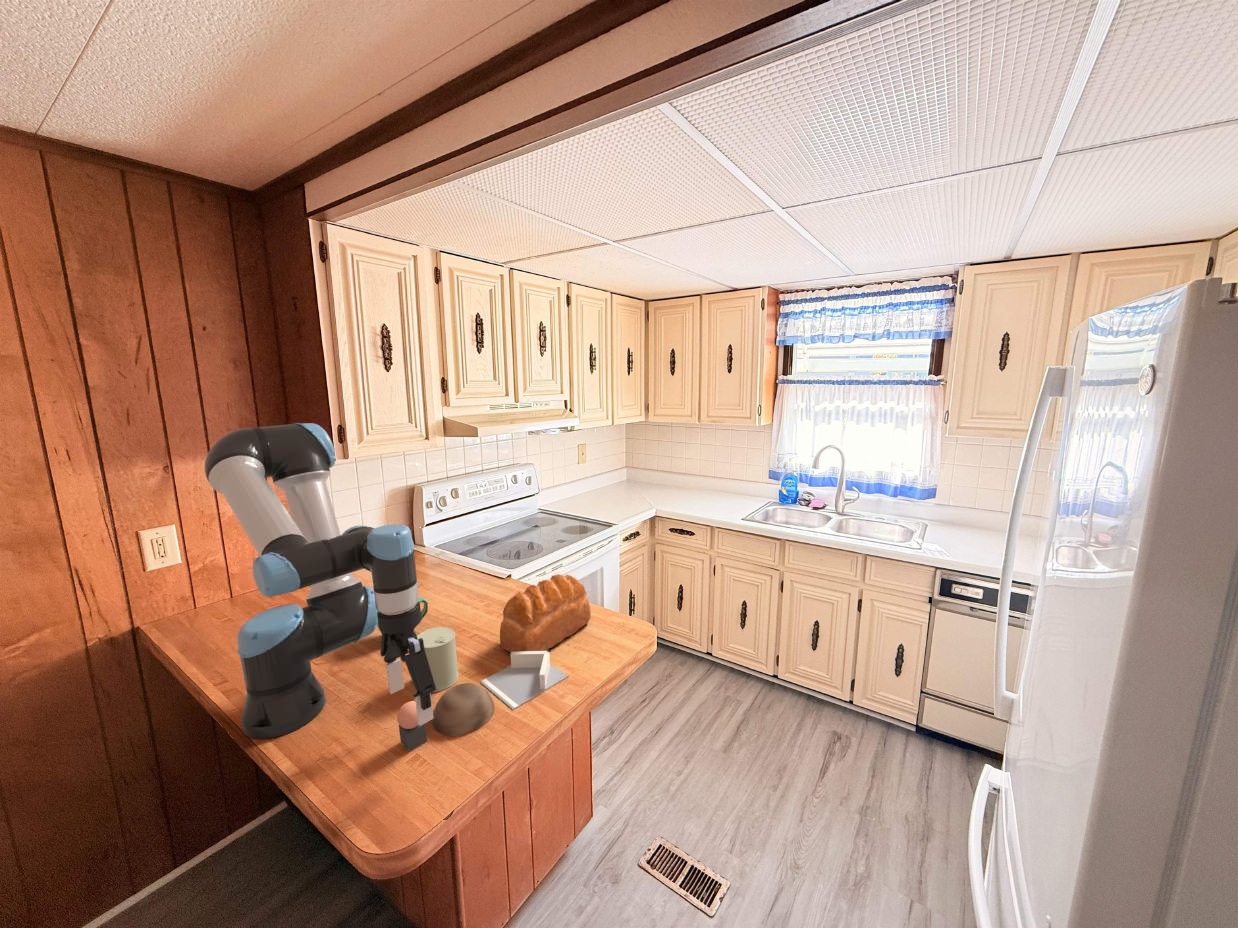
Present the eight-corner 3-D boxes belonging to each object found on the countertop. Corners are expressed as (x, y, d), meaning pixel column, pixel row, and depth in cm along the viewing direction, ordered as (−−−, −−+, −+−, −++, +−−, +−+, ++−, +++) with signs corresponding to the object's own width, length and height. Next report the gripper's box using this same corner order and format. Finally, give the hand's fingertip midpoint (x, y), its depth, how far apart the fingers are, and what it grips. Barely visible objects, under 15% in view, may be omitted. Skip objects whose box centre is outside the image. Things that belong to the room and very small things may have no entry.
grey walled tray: (513, 709, 106) (512, 693, 105) (480, 682, 116) (478, 667, 115) (568, 676, 117) (568, 661, 116) (534, 653, 127) (533, 639, 126)
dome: (453, 775, 98) (447, 719, 95) (424, 742, 106) (419, 690, 104) (507, 739, 107) (504, 688, 104) (477, 711, 116) (473, 663, 113)
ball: (404, 738, 93) (402, 716, 92) (394, 726, 97) (391, 704, 96) (429, 725, 97) (427, 703, 96) (419, 713, 100) (416, 691, 99)
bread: (494, 647, 130) (490, 594, 127) (562, 608, 151) (560, 561, 148) (530, 665, 122) (527, 608, 119) (596, 621, 142) (595, 572, 139)
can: (435, 697, 111) (430, 650, 108) (410, 684, 115) (405, 638, 113) (467, 675, 118) (463, 631, 116) (442, 664, 123) (438, 621, 121)
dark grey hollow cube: (408, 751, 95) (406, 734, 94) (400, 741, 97) (398, 724, 97) (427, 741, 97) (425, 723, 97) (419, 731, 100) (417, 714, 99)
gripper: (448, 620, 86) (459, 724, 90) (392, 581, 103) (404, 670, 107) (405, 637, 80) (419, 747, 84) (355, 593, 97) (368, 687, 101)
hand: (410, 705), depth 95 cm, fingers open, 13 cm apart
